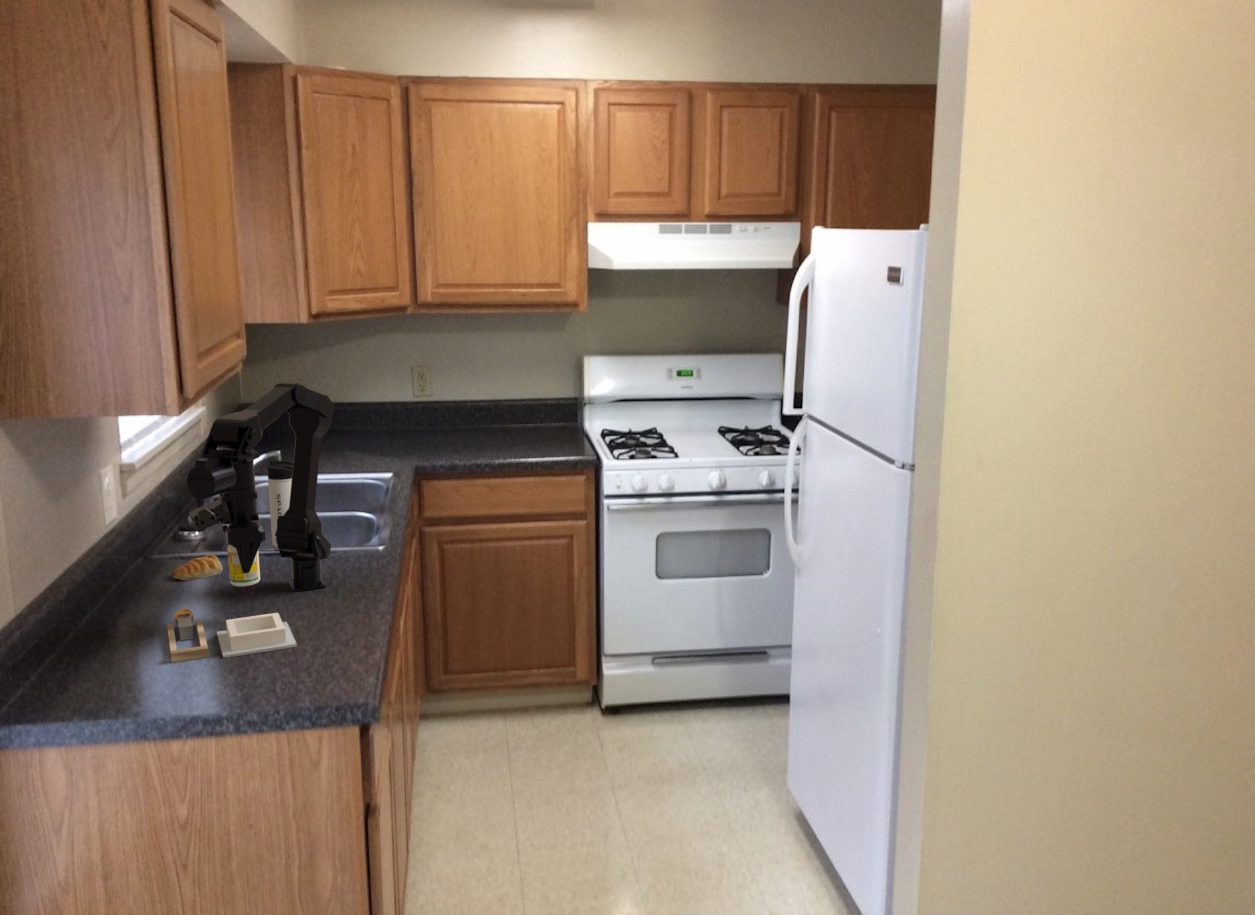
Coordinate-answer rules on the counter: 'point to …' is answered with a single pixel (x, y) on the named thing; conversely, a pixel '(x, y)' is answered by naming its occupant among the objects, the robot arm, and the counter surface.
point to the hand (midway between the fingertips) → (244, 568)
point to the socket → (255, 635)
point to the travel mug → (278, 492)
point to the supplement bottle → (236, 571)
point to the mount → (189, 652)
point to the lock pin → (184, 623)
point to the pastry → (199, 568)
